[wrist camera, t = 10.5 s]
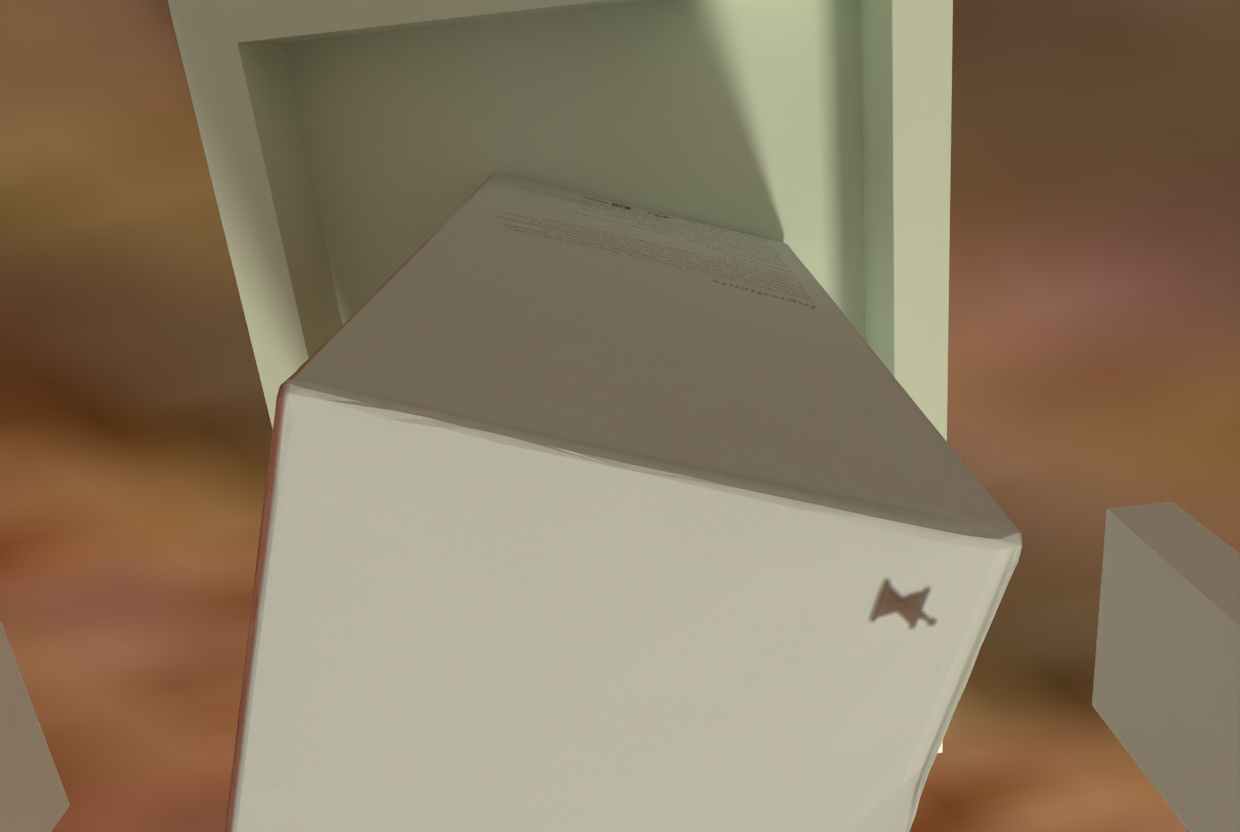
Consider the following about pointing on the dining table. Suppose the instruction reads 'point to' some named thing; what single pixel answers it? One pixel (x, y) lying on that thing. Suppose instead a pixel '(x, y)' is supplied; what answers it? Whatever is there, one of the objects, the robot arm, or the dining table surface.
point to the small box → (605, 547)
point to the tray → (578, 142)
